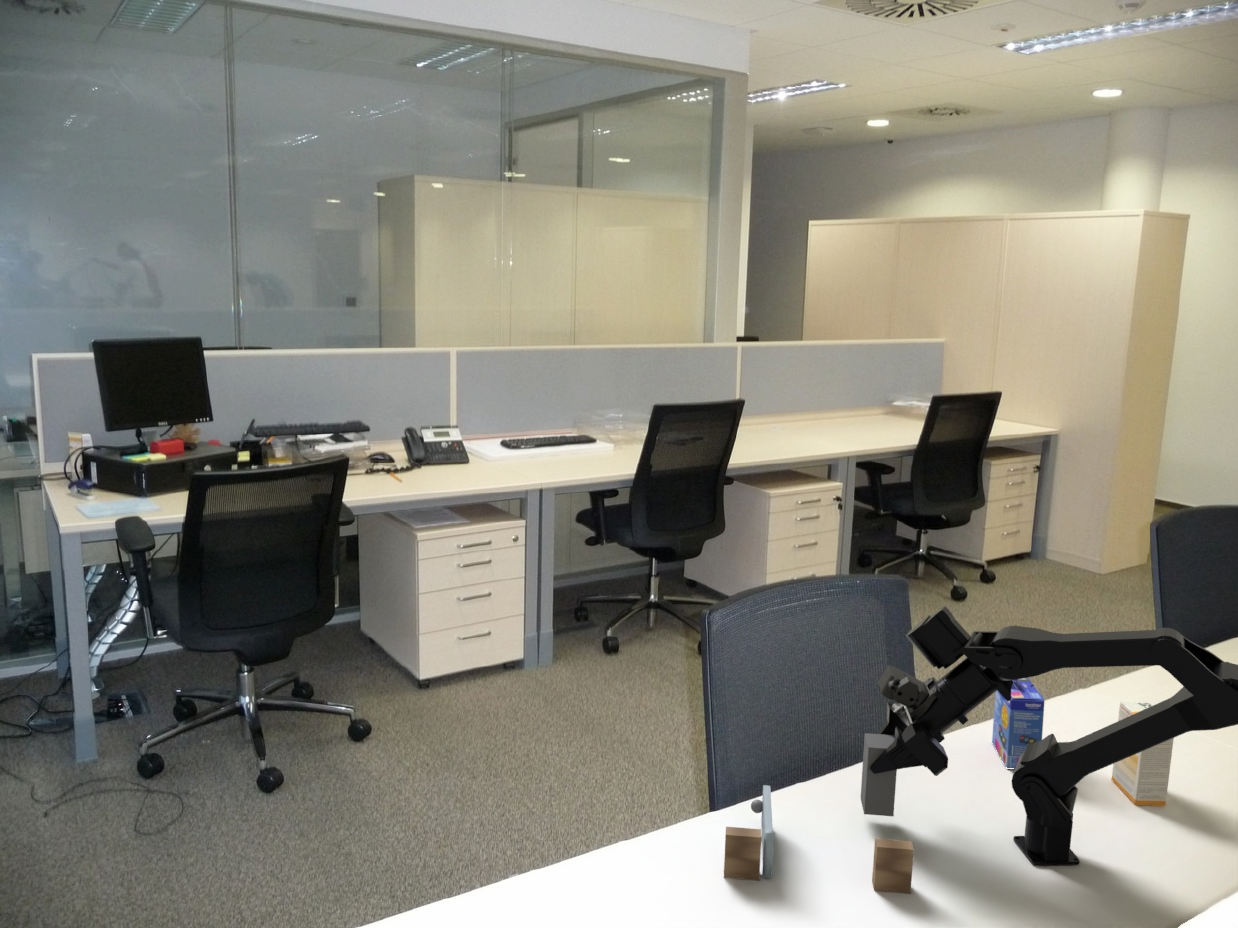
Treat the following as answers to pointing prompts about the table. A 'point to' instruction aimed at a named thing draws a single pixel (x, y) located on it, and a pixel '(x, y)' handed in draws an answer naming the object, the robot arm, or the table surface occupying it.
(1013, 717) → the ink cartridge box
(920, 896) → the table surface
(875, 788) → the tall gray pillar
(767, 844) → the door
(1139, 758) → the supplement box
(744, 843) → the wooden blocks
